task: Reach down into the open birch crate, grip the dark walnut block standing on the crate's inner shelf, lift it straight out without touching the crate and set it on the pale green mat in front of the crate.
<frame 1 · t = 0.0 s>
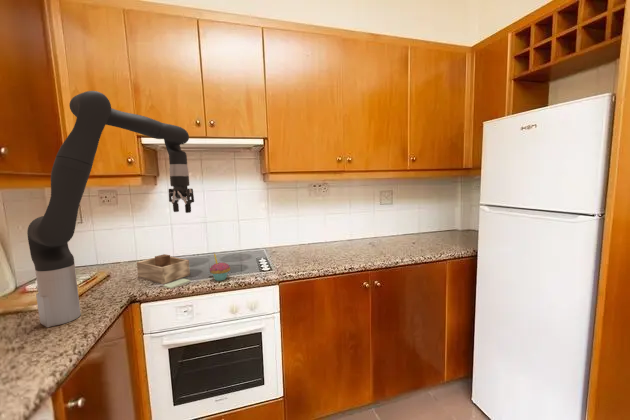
hand: (182, 212, 128), 29 cm above the countertop, tool pointing down, fingers open, 8 cm apart
crate: (164, 276, 133), on the countertop
walnut block: (163, 270, 132), point 2 cm above the countertop, touching crate
cupcake: (220, 279, 127), on the countertop
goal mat: (177, 284, 122), on the countertop
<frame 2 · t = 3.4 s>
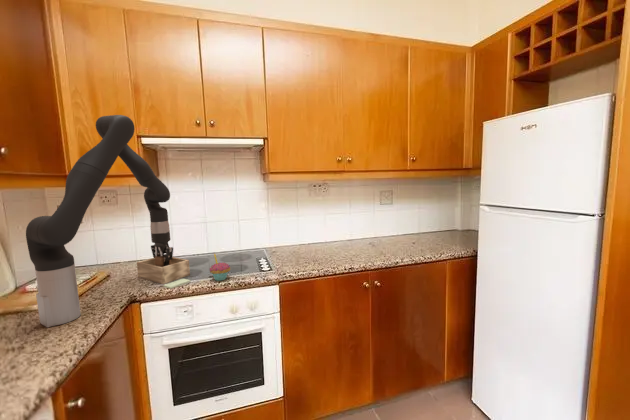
hand: (163, 268, 132), 4 cm above the countertop, tool pointing down, fingers closed on walnut block, 4 cm apart
walnut block: (163, 270, 132), point 3 cm above the countertop, touching crate, gripper
everything else where it was.
when the fingers open (3 cm above the countertop, at t = 9.3 s): walnut block drops 1 cm, resting on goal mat.
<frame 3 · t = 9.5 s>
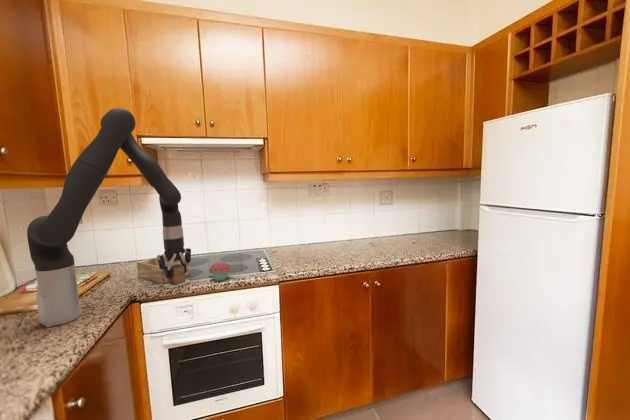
hand: (176, 275, 122), 4 cm above the countertop, tool pointing down, fingers open, 6 cm apart
walnut block: (177, 282, 122), point 1 cm above the countertop, touching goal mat
everything else where it was.
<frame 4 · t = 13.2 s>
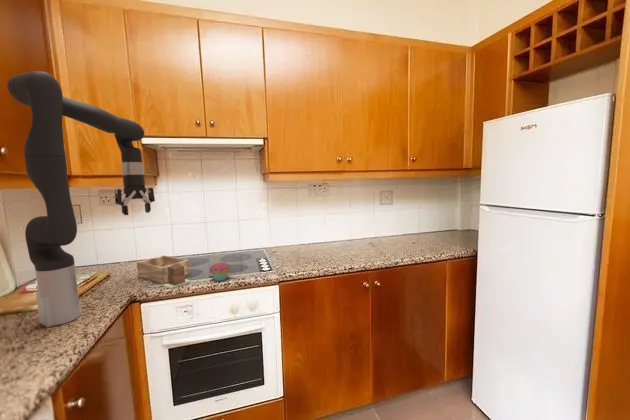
hand: (137, 213, 119), 30 cm above the countertop, tool pointing down, fingers open, 8 cm apart
nothing on the countertop moved.
at the end: walnut block inside the target area on the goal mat (0.1 cm from its centre), point 0.6 cm above the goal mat's base; walnut block tilted 0°; the gripper is holding nothing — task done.
